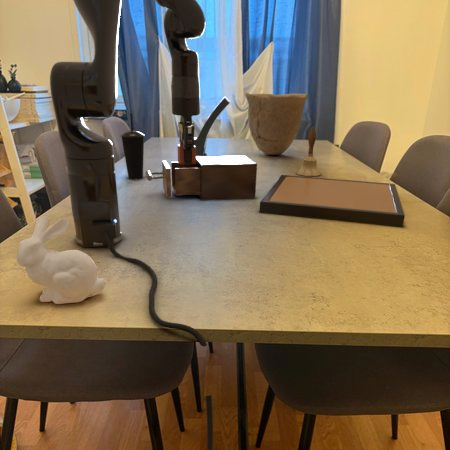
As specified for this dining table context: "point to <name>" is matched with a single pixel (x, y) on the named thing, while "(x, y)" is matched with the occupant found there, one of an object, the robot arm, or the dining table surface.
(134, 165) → the drinking cup
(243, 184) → the cabinet
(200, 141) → the dark grey curved piece
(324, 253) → the dining table surface
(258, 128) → the clay pot
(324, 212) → the cork board
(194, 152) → the block
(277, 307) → the dining table surface
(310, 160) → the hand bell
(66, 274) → the rabbit
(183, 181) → the drawer
